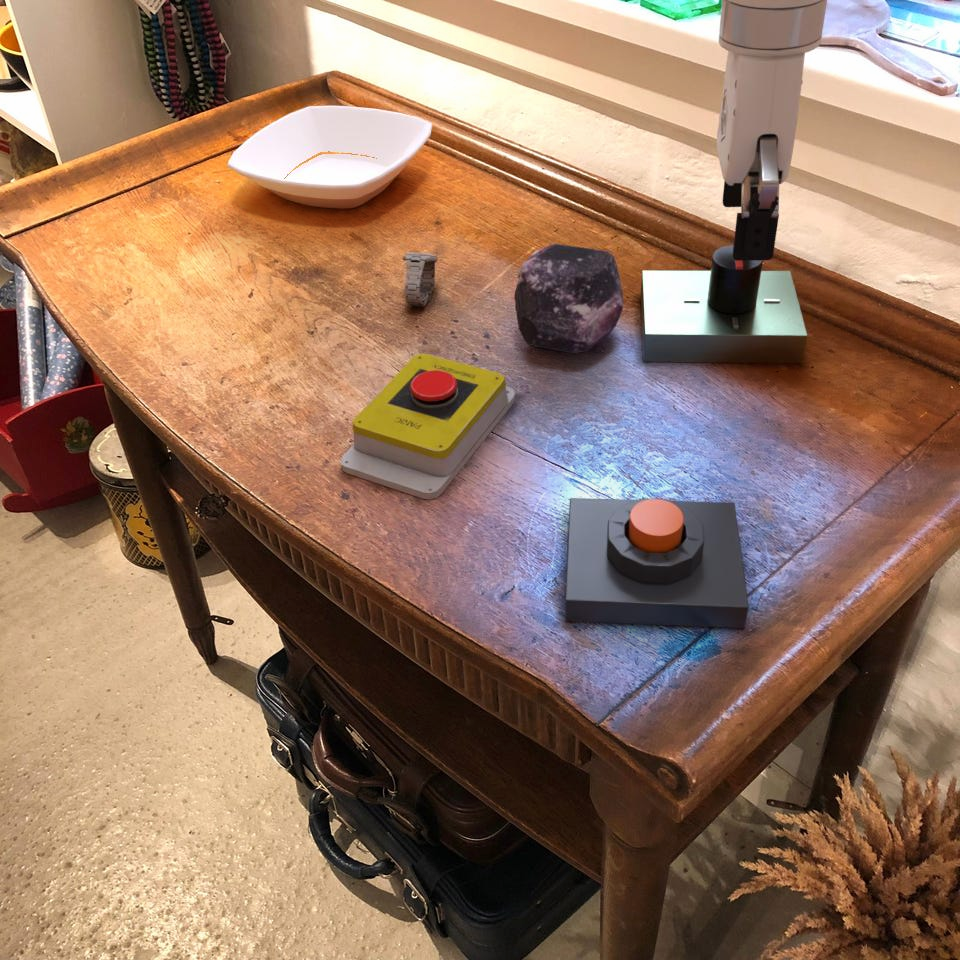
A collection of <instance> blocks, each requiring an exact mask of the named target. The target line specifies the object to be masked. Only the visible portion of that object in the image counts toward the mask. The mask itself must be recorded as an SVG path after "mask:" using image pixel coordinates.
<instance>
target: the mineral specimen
mask: <svg viewBox="0 0 960 960" xmlns="http://www.w3.org/2000/svg"><path fill="white" fill-rule="evenodd" d="M517 274H518V275H517V278H518V280H517V284H516V287H515V290H514V294H513V295H514V296H513V299H514V306H515V307H514V308H515V313H516V314H515V315H516V320H517V327H518V330H519V332H520V334H521V337H522V339H523V340H524V342H525V343H526V344H527V345H531V346H534V347H537V348H543V349H551V350H555V351H559V352H565V353H570V354H572V353H573V354H580V353H584V352H587V351H589V350H591V349H592V348H594V347H595V346H596V345H597V344H599V343H601V342H602V341H603V340H604V339H605V338H606V337H607V336H608V335H610V334H611V333H612V332H613V330H614V329H615V328H616V327H617V324H618V322H619V320H620V319H621V315H622V313H623V309H624V294H623V293H624V292H623V287H622V283H621V278H620V273H619V268H618V264H617V261H616V258H615V256H614V255H613V254H612V253H611V252H610V251H608V250H604V249H603V250H602V249H595V248H589V247H580V246H575V245H566V244H561V243H560V244H559V243H551V244H549V245H547V246H544V247H543V248H539V249H538V250H535V251H534V252H533V253H532V254H531V255H530V256H529V257H528V258H527V259H525V261H524V262H523V263H522V264H521V266H520V267H519V270H518V272H517Z"/></svg>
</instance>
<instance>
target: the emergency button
mask: <svg viewBox="0 0 960 960" xmlns="http://www.w3.org/2000/svg"><path fill="white" fill-rule="evenodd" d="M516 398H517V397H516V391H515V389H514V388H513V387H510V386H507V383H506V379H505V376H504V375H503V374H502V373H499V372H497V371H493V370H489V369H485V368H481V367H478V366H474V365H470V364H467V363H462V362H459V361H456V360H452V359H449V358H445V357H441V356H437V355H433V354H429V353H418V354H416V355H414V356H413V357H412V358H410V360H409V361H408V362H407V363H406V364H405V365H404V366H403V367H402V368H401V369H400V370H399V371H398V372H397V374H395V376H393V378H392V379H391V380H390V381H388V383H387V384H386V385H385V386H384V387H383V388H382V389H381V390H380V391H379V392H378V393H377V394H376V395H375V396H374V397H373V399H371V401H369V402H368V403H367V404H366V405H365V407H364V408H363V409H362V410H361V411H360V412H359V413H357V415H356V416H355V417H354V418H353V420H352V430H353V445H351V447H349V448H348V449H347V450H346V452H345V453H344V454H343V455H342V457H341V459H340V465H341V470H342V471H343V472H345V474H347V475H351V476H354V477H357V478H360V479H363V480H366V481H369V482H372V483H375V484H378V485H381V486H385V487H386V488H390V489H393V490H396V491H398V492H401V493H405V494H409V495H411V496H414V497H416V498H420V499H423V500H434V499H437V498H438V497H441V495H442V494H443V493H444V491H445V490H446V489H447V488H448V487H449V486H450V484H451V483H452V481H453V480H454V479H455V478H456V476H457V475H458V474H459V473H460V472H461V470H462V469H463V468H464V467H465V465H466V464H467V463H468V461H470V459H471V458H472V456H474V454H475V453H476V452H477V450H478V449H479V447H480V446H481V445H482V444H483V442H485V440H486V439H487V437H488V436H489V435H490V434H491V433H492V431H493V430H494V429H495V427H496V426H497V425H498V424H499V423H500V421H501V420H502V419H503V417H504V416H505V415H506V413H508V412H509V410H510V408H511V407H512V406H513V405H514V403H515V402H516Z"/></svg>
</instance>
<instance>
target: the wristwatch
mask: <svg viewBox="0 0 960 960" xmlns="http://www.w3.org/2000/svg"><path fill="white" fill-rule="evenodd" d="M402 260H403V261H406V272H405V273H406V274H405V275H406V277H405V283H404V297H405V301H406V303H407V304H408V306H412V307H425V306H426V305H427V304H428V303H429V302H430V301H431V298H432V294H433V292H434V288H435V285H436V279H435V278H436V263H437V262H438V256H437V255H436V254H433V253H425V252H407V253H406V254H405V255H404V256H402Z"/></svg>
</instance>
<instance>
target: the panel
mask: <svg viewBox="0 0 960 960" xmlns="http://www.w3.org/2000/svg"><path fill="white" fill-rule="evenodd" d="M710 272H711V270H641V282H640V283H641V285H640V318H641V321H640V322H641V340H642V341H641V343H642V344H641V345H642V361H643V362H644V363H715V364H716V363H717V364H718V363H721V364H722V363H724V364H794V365H795V364H796V365H797V364H799V365H802V364H803V360H804V355H805V350H806V346H807V341H808V332H807V327H806V325H805V321H804V316H803V313H802V310H801V305H800V302H799V298H798V293H797V291H796V286H795V283H794V279H793V274H792V272H791V270H762V271H761V277H760V283H759V289H758V296H757V302H756V305H755V307H754V308H753V309H751V310H750V311H747V312H744V313H738V314H730V313H724V312H720V311H718V310H716V309H714V308H712V307H711V306H710V305H709V303H708V301H707V297H708V289H709V280H710Z"/></svg>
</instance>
